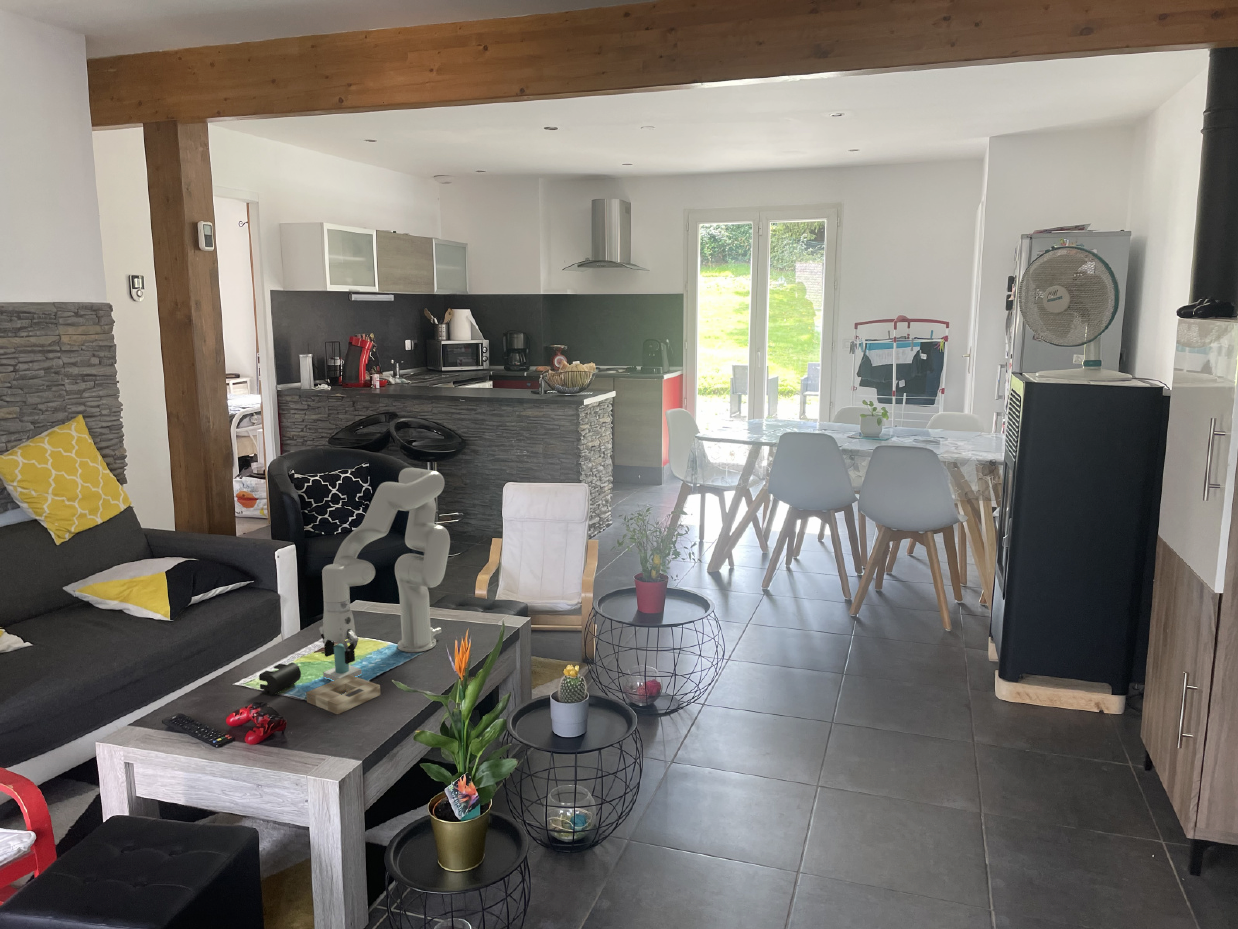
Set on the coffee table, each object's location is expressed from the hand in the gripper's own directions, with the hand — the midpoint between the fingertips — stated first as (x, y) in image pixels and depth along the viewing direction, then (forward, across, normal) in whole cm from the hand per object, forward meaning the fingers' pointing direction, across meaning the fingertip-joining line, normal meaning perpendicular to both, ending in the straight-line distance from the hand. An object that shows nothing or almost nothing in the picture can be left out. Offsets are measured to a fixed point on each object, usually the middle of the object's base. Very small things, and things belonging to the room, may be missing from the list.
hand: (339, 658), depth 267 cm
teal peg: (+4, 0, -1) cm, 4 cm away
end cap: (+7, +8, +15) cm, 19 cm away
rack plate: (+6, -13, +9) cm, 17 cm away
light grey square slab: (+6, 0, -1) cm, 6 cm away
